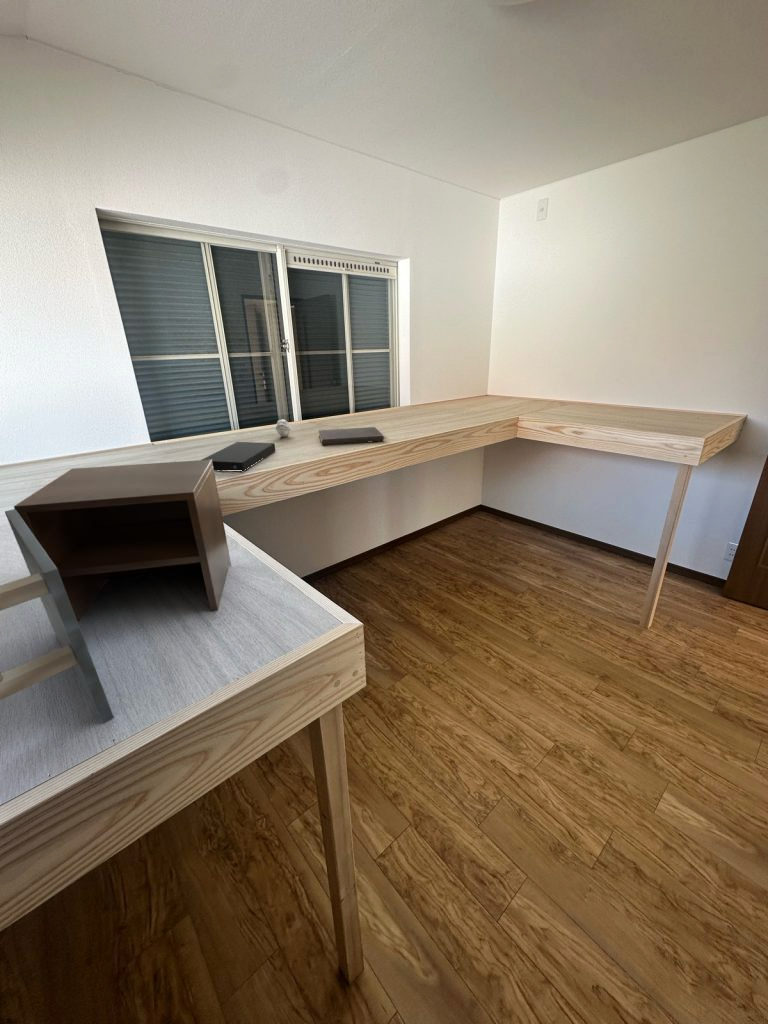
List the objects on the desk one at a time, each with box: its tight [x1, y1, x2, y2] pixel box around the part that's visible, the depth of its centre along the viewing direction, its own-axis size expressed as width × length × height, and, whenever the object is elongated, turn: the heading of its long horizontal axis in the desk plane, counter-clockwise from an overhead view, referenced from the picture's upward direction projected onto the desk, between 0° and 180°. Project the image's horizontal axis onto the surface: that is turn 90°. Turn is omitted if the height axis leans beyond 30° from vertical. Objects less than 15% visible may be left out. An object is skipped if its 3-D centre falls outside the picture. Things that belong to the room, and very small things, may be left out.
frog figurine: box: [275, 418, 292, 438], centre depth 164 cm, size 6×7×7 cm
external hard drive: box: [201, 441, 276, 472], centre depth 135 cm, size 14×23×3 cm, turn 170°
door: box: [0, 508, 115, 725], centre depth 44 cm, size 8×20×20 cm, turn 47°
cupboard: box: [13, 459, 232, 623], centre depth 62 cm, size 15×20×20 cm
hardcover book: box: [318, 426, 385, 446], centre depth 160 cm, size 16×23×2 cm
